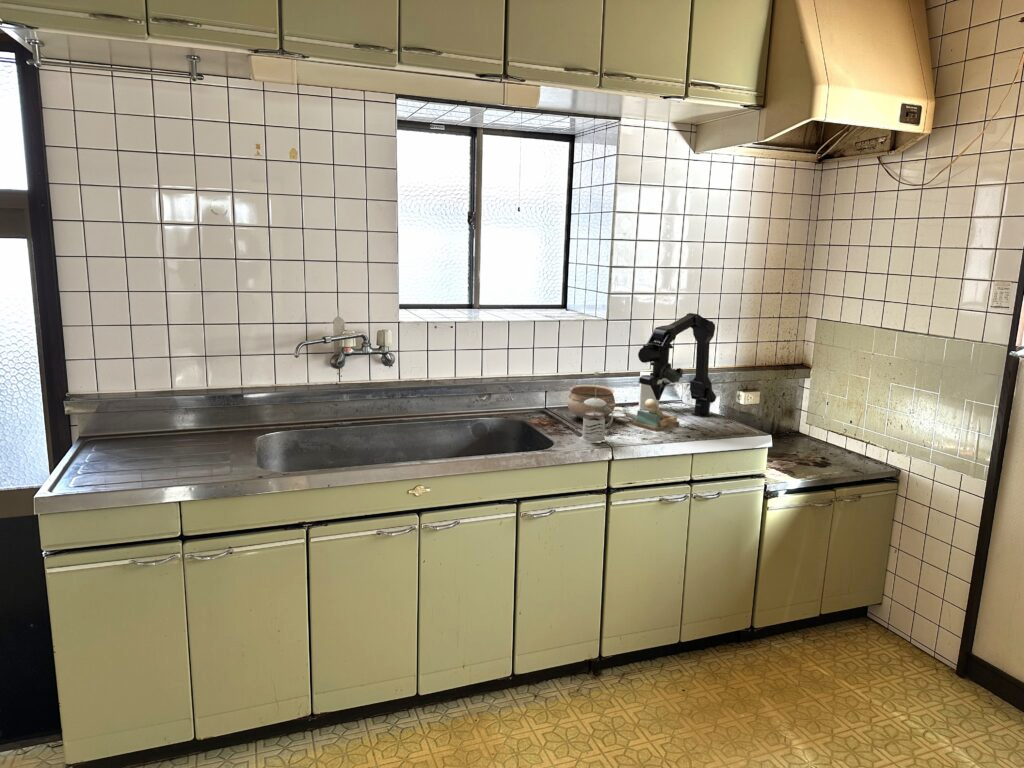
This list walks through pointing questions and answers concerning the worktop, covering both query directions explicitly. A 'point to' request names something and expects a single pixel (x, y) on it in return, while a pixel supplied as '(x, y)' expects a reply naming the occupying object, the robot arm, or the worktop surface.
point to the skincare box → (646, 393)
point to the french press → (594, 434)
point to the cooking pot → (587, 392)
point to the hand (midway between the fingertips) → (657, 399)
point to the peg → (653, 408)
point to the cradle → (654, 421)
